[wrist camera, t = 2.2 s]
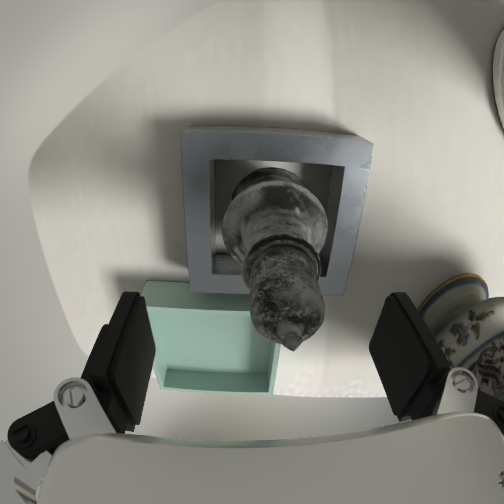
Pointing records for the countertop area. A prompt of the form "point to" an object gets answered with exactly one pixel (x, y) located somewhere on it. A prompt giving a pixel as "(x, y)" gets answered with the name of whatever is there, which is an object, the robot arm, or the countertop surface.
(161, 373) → the tray
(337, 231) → the grey square frame
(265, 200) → the salt shaker
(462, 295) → the apothecary jar
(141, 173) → the countertop surface
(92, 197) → the countertop surface
